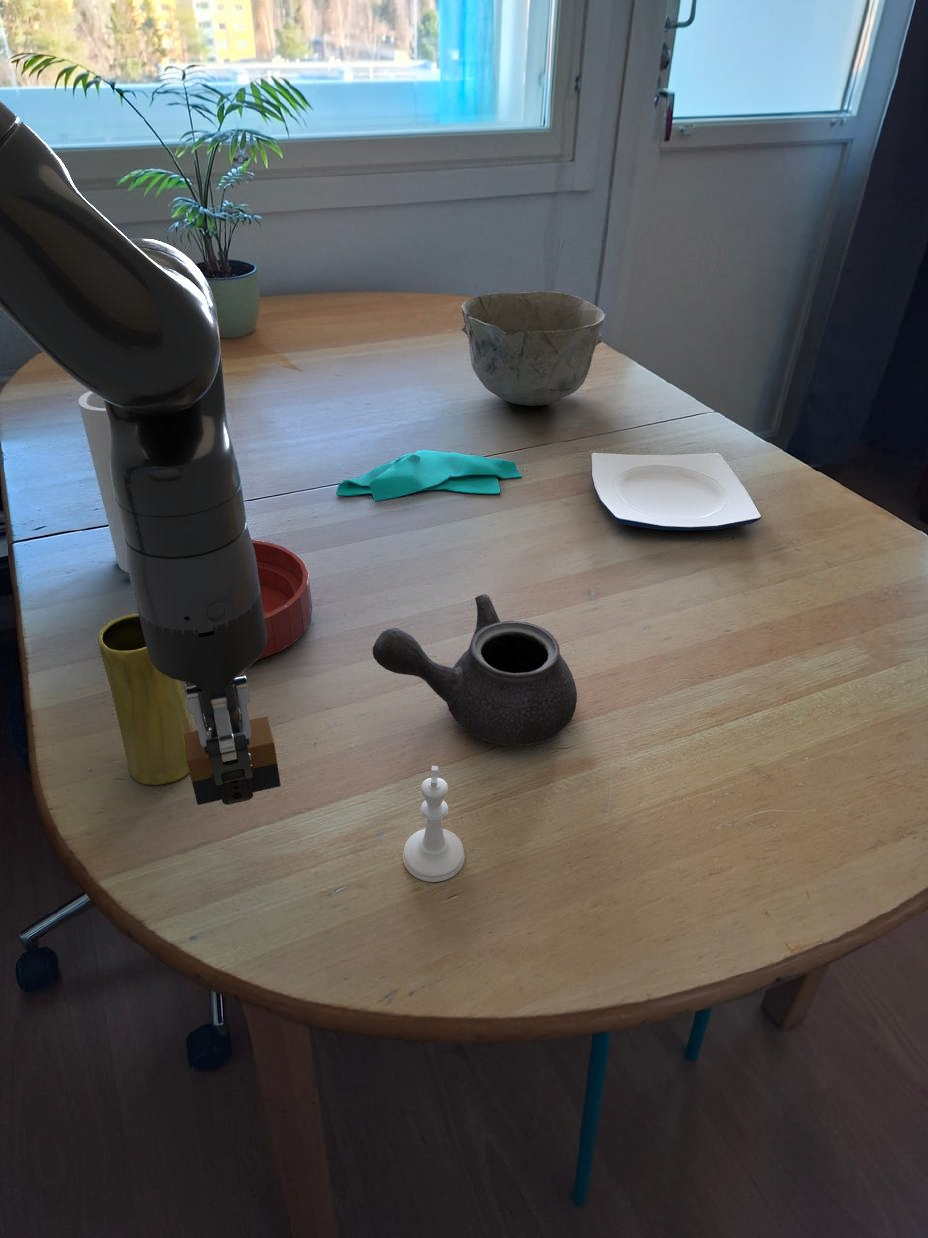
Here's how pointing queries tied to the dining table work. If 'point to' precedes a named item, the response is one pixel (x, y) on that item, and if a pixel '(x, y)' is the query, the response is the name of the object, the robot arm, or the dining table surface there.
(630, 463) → the plate
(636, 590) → the dining table surface
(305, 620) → the red bowl
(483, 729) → the teapot
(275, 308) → the dining table surface
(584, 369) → the bowl
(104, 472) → the vase
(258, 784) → the eraser
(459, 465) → the cloth
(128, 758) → the vase
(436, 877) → the chess piece
